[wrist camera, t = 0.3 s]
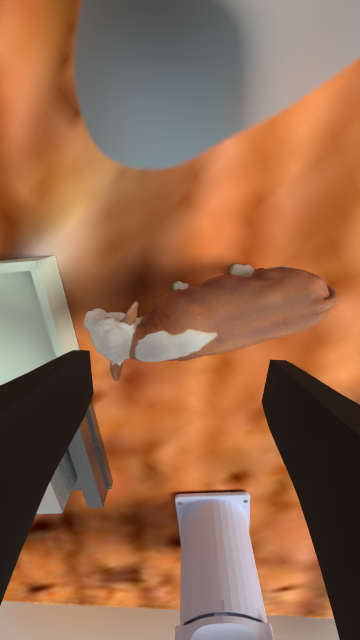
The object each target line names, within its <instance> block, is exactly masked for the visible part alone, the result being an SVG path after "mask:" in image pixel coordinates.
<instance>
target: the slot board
mask: <svg viewBox="0 0 360 640" xmlns="http://www.w3.org/2000/svg"><path fill="white" fill-rule="evenodd" d="M68 450H69V453H70V456H71V459H72V462H73V465H74V468H75V470H76V473H77V476H78V478H77V480H76V482H75V485H74V487H73V489H72V490H82V491H83V494H84V497H85V500H86V503H87V506H88V508H103V506H104V503H105V499H106V496H107V492H108V489H111V487H112V483H113V480H112V476H111V473H110V469H109V465H108V461H107V457H106V453H105V450H104V446H103V442H102V438H101V434H100V431H99V427H98V423H97V419H96V415H95V412H94V408H93V404H92V400H91V402H90V405H89V407H88V410H87V412H86V415H85V417H84V419H83V421H82V423H81V425H80V426H79V428H78V430H77V432H76V434H75V436H74V438H73V440H72V441H71V443H70V445H69V447H68Z"/></svg>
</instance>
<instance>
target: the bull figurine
mask: <svg viewBox="0 0 360 640" xmlns="http://www.w3.org/2000/svg"><path fill="white" fill-rule="evenodd" d="M229 274H230V275H222V276H218V277H215V278H212V279H210V280H207V281H205V282H204V283H202V284H200V285H197V286H193V287H189V284H188V283H182V282H181V281H176V282H174V283H173V285H172V289H173V291H170V292H168V293H167V294H164V295H162V296H160V297H159V298H158V299H156V300H155V301H154V303H153V304H152V306H151V308H150V311H149V313H148V314H147V315H144V316H142V317H141V318H137V309H138V302H137V301H135V302H134V303H133V304H132V306H131V307H130V308H129V310H128V311H127V312H126V314H124V313H120V312H110V313H106V311H105V310H102V309H99V308H95V309H92V310H91V311H88V312H87V313H86V315H85V318H84V327H85V328H86V329H87V330H89V332H90V335H91V341H92V343H93V346H94V347H95V348H96V350H97V351H98V352H99V353H100V354H102V355H104V356H105V357H106V358H107V359H108V360H111V364H110V371H111V374H112V377H113V379H114V380H115V381H118V380H119V379H120V375H121V369H122V363H123V360H125V359H128V358H132V359H135V360H139V361H144V362H159V361H164V360H167V361H175V360H178V361H186V360H191V359H195V358H199V357H202V356H210V355H217V354H221V353H225V352H230V351H234V350H238V349H242V348H246V347H249V346H251V345H255V344H257V343H260V342H263V341H266V340H271V339H276V338H281V337H285V336H289V335H292V334H295V333H298V332H301V331H304V330H307V329H309V328H311V327H313V326H315V325H317V324H319V323H320V322H322V321H323V320H324V319H325V318H326V317H327V315H328V313H329V309H331V308H333V307H334V306H335V305H336V304H337V302H338V300H339V296H338V294H337V292H336V291H335V290H334V289H333V288H331V287H330V286H328V285H326V283H325V281H324V280H323V279H322V278H321V277H319V276H317V275H315V274H313V273H310V272H307V271H304V270H300V269H295V268H291V267H288V266H283V265H282V266H279V267H270V268H268V269H264V268H258V269H254V268H252V267H251V265H249V264H247V265H245V266H244V265H241V264H237V263H236V264H233V265H232V266H231V267H230V269H229ZM246 276H250V277H246ZM188 287H189V288H188Z"/></svg>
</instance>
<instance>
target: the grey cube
mask: <svg viewBox="0 0 360 640" xmlns="http://www.w3.org/2000/svg"><path fill="white" fill-rule="evenodd" d="M77 478H78V476H77V473H76V470H75V468H74V465H73V462H72V459H71V456H70V453H69V450H68V449H67V451H66V452H65V454H64V456H63V458H62V460H61V462H60V463H59V465H58V467H57V469H56V471H55V473H54V475H53V477H52V479H51V481H50V483H49V485H48V487H47V490H46V492H45V494H44V497H43V499H42V501H41V504H40V506H39V508H38V511H37V513H36V514H54V513H63V511H64V508H65V506H66V504H67V501H68V499H69V497H70V494H71V492H72V489H73V487H74V485H75V482H76V480H77Z"/></svg>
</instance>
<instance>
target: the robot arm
mask: <svg viewBox="0 0 360 640" xmlns="http://www.w3.org/2000/svg"><path fill="white" fill-rule="evenodd" d="M92 396H93V383H92V373H91V362H90V352H89V351H85V350H73V351H70V352H68V353H65V354H63V355H61V356H59V357H57V358H55V359H53V360H51V361H49V362H47V363H45V364H43V365H42V366H40V367H38V368H36V369H34V370H32V371H30V372H28V373H26V374H24V375H21V376H19V377H17V378H15V379H13V380H11V381H9V382H7V383H4V384H2V385H0V605H1V602H2V600H3V597H4V594H5V592H6V589H7V586H8V584H9V581H10V579H11V576H12V573H13V571H14V568H15V565H16V563H17V560H18V557H19V555H20V552H21V550H22V547H23V545H24V542H25V540H26V537H27V535H28V533H29V530H30V528H31V525H32V523H33V520H34V518H35V515H36V513H37V511H38V508H39V506H40V504H41V501H42V499H43V497H44V494H45V492H46V490H47V487H48V485H49V483H50V481H51V479H52V477H53V475H54V473H55V471H56V469H57V467H58V465H59V463H60V462H61V460H62V458H63V456H64V454H65V452H66V451H67V449H68V447H69V445H70V443H71V441H72V440H73V438H74V436H75V434H76V432H77V430H78V428H79V426H80V425H81V423H82V421H83V419H84V417H85V415H86V412H87V410H88V407H89V405H90V402H91V399H92ZM262 405H263V409H264V412H265V416H266V420H267V423H268V426H269V429H270V431H271V433H272V436H273V438H274V441H275V443H276V445H277V448H278V450H279V452H280V455H281V457H282V459H283V462H284V464H285V466H286V469H287V471H288V473H289V476H290V478H291V480H292V483H293V485H294V488H295V490H296V493H297V495H298V498H299V501H300V504H301V507H302V510H303V514H304V517H305V520H306V523H307V526H308V529H309V532H310V536H311V539H312V542H313V546H314V549H315V552H316V555H317V559H318V562H319V565H320V569H321V572H322V576H323V580H324V583H325V587H326V590H327V594H328V598H329V601H330V605H331V608H332V612H333V616H334V619H335V623H336V627H337V631H338V635H339V639H340V640H360V405H359V404H357V403H356V402H354V401H352V400H350V399H349V398H347V397H345V396H343V395H342V394H340V393H338V392H337V391H335V390H334V389H332V388H330V387H329V386H327V385H325V384H324V383H322V382H321V381H319V380H318V379H316V378H314V377H313V376H311V375H310V374H308V373H306V372H305V371H303V370H302V369H300V368H298V367H297V366H295V365H293V364H292V363H290V362H288V361H286V360H270V364H269V368H268V373H267V378H266V383H265V388H264V393H263V398H262ZM175 504H176V511H177V518H178V526H179V533H180V540H181V585H180V626H177V627H176V629H175V631H176V632H175V640H274V636H273V632H272V626H271V623H267V618H266V613H265V608H264V603H263V599H262V594H261V589H260V584H259V579H258V574H257V569H256V565H255V560H254V555H253V550H252V545H251V540H250V535H249V516H250V495H249V493H248V492H220V493H192V494H177V495H176V496H175Z"/></svg>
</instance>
